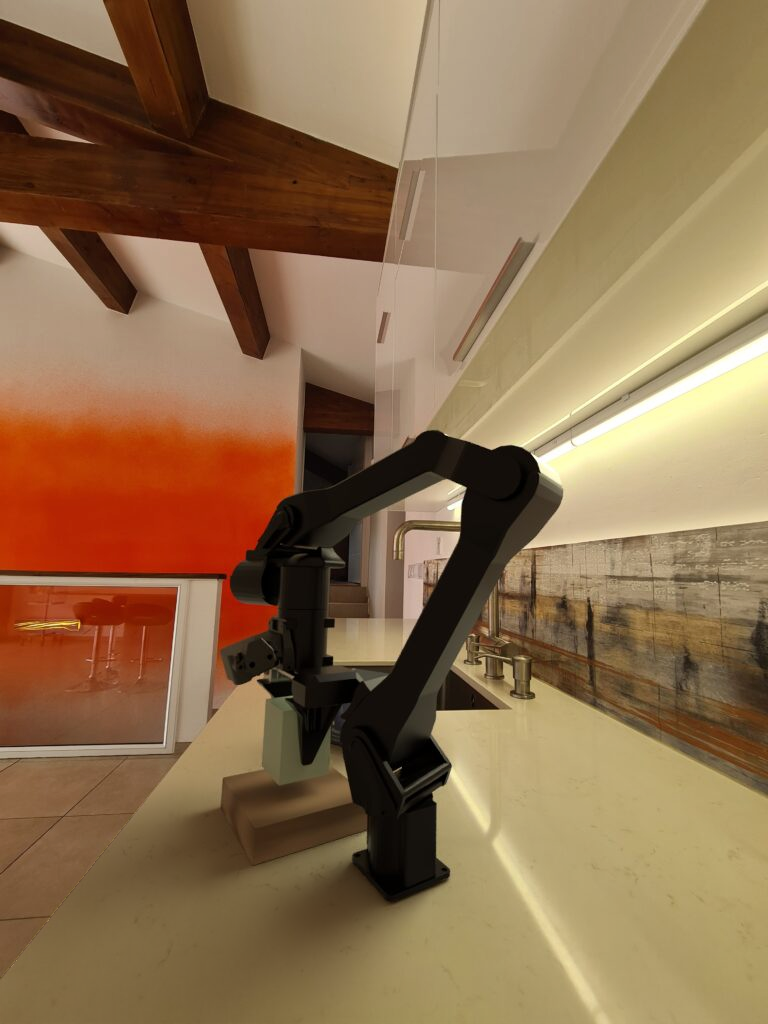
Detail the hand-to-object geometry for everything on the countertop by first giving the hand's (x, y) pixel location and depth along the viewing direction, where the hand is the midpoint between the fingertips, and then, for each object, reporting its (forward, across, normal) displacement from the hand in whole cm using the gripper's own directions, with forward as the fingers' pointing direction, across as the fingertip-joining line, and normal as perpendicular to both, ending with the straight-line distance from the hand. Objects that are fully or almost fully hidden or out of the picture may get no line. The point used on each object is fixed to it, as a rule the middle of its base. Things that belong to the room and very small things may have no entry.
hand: (295, 755), depth 49 cm
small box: (+6, -15, +18) cm, 24 cm away
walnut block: (+6, 0, 0) cm, 6 cm away
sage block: (+2, 0, 0) cm, 2 cm away
